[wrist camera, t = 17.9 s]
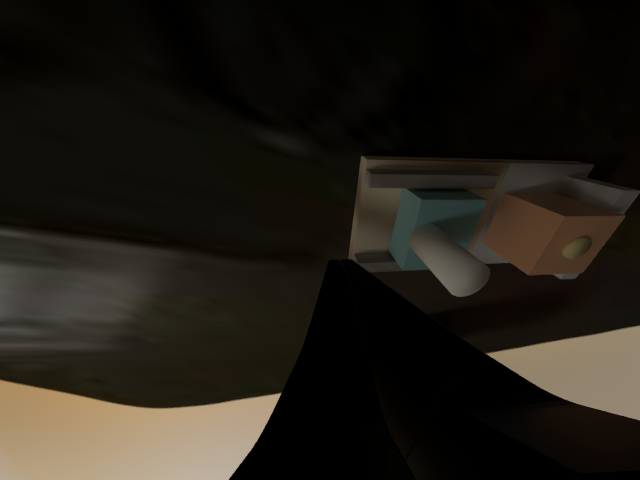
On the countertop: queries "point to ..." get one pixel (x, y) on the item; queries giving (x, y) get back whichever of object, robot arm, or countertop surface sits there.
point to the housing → (549, 232)
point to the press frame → (470, 174)
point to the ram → (440, 236)
